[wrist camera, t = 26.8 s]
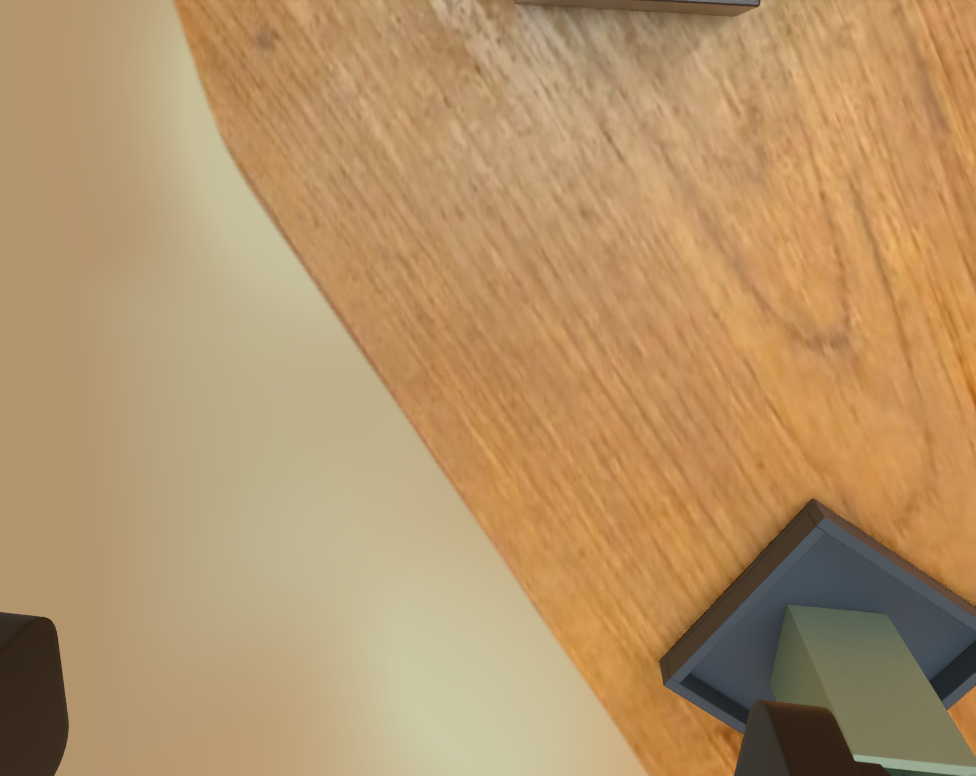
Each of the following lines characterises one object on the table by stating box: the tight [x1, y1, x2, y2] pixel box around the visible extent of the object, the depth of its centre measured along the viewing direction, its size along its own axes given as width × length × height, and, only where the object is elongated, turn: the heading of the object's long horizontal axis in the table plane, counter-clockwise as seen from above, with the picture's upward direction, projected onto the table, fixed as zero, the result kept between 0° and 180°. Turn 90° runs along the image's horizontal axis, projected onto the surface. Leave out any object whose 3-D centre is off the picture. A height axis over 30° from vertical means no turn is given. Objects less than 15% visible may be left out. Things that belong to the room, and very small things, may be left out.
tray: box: [659, 499, 976, 734], centre depth 41 cm, size 12×12×2 cm
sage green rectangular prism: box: [770, 604, 976, 776], centre depth 37 cm, size 10×5×5 cm
